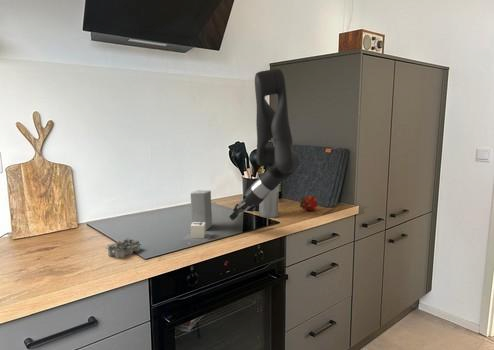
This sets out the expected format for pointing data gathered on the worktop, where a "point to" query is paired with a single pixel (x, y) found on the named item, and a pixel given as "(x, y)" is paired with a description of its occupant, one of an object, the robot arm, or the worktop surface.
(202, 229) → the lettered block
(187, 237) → the reading mat
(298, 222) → the worktop surface
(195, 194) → the skincare box
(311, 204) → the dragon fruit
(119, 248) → the grey lumpy piece
